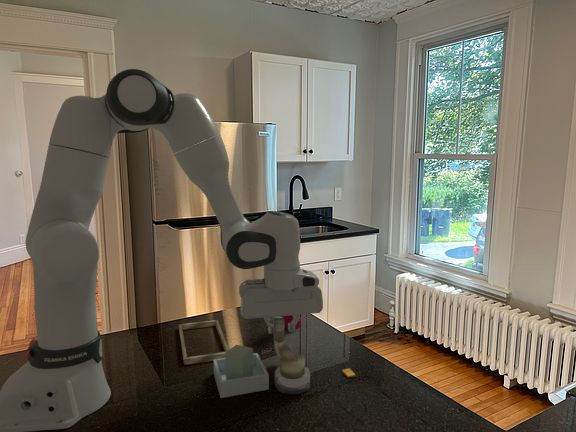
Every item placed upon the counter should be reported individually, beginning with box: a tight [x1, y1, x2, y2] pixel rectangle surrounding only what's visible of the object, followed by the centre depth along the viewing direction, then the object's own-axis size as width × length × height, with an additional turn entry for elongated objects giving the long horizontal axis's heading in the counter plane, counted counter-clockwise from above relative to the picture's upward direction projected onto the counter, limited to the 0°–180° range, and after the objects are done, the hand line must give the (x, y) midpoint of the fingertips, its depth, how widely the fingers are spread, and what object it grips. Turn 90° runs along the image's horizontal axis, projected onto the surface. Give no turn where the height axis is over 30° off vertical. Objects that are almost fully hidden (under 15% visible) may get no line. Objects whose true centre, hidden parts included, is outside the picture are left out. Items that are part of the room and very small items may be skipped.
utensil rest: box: [178, 319, 230, 366], centre depth 116 cm, size 12×23×2 cm, turn 18°
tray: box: [212, 352, 270, 399], centre depth 96 cm, size 11×11×4 cm
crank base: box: [274, 366, 356, 395], centre depth 96 cm, size 19×8×3 cm, turn 108°
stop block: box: [224, 344, 254, 380], centre depth 95 cm, size 4×4×7 cm
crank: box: [273, 316, 306, 378], centre depth 98 cm, size 15×6×8 cm, turn 18°
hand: (281, 331), depth 103 cm, fingers open, 4 cm apart
